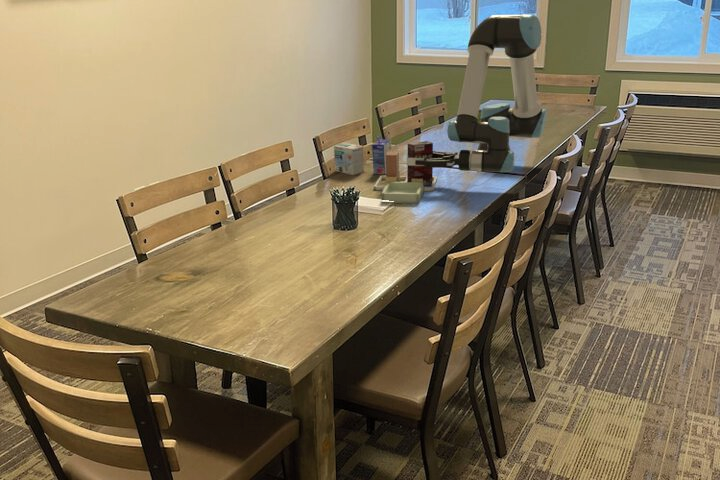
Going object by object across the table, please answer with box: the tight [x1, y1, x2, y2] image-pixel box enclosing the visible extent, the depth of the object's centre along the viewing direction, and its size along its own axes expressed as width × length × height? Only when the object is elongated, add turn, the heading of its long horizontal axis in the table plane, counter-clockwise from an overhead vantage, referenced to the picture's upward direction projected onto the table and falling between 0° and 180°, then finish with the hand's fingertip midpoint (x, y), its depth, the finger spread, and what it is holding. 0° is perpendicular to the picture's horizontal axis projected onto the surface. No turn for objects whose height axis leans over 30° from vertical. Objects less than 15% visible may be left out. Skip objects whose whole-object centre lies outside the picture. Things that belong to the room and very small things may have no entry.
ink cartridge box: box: [371, 134, 392, 175], centre depth 275 cm, size 10×6×14 cm, turn 161°
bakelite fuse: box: [385, 150, 400, 182], centre depth 256 cm, size 4×6×12 cm, turn 169°
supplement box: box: [406, 140, 434, 187], centre depth 254 cm, size 9×5×16 cm, turn 118°
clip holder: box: [373, 170, 438, 192], centre depth 257 cm, size 22×16×4 cm
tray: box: [380, 181, 424, 204], centre depth 242 cm, size 13×15×3 cm
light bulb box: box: [333, 142, 365, 176], centre depth 277 cm, size 11×7×11 cm, turn 47°
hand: (409, 158), depth 254 cm, fingers closed on supplement box, 9 cm apart
